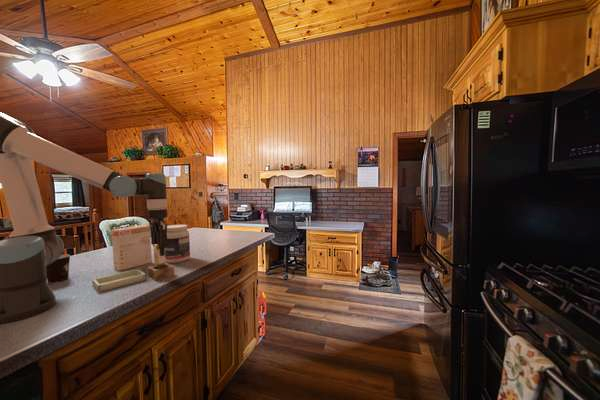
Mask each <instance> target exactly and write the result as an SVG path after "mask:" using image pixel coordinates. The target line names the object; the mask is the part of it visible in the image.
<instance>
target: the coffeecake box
mask: <svg viewBox="0 0 600 400" xmlns="http://www.w3.org/2000/svg"><path fill="white" fill-rule="evenodd" d="M110 231H111V244H112V245H111V247H112V258H113V259H112V260H113V269H114V270H117V271H123V270H127V269H131V268H135V267H138V266H143V265H148V264H151V263H153V256H152V244H151V229H150V225H146V224H142V225H135V226H134V225H133V226H127V227H120V228H113V229H111V230H110Z"/></svg>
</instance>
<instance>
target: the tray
mask: <svg viewBox="0 0 600 400" xmlns="http://www.w3.org/2000/svg"><path fill="white" fill-rule="evenodd" d="M143 281H147V274H146V273H145V272H143V271H142V270H140V269H139V268H135V269H131V270H126V271H123V272H117V273H114V274H108V275H105V276H100V277H95V278H92V279H91V284H92V287H93V288H94V289H95V290H96V291H97V292H98V293H102V292H104V291H109V290H113V289H117V288H119V287H121V288H122V287H123V286H124V287H125V286H128V285H130V284H131V285H132V284H135V283H139V282H143Z"/></svg>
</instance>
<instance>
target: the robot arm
mask: <svg viewBox="0 0 600 400" xmlns="http://www.w3.org/2000/svg"><path fill="white" fill-rule="evenodd" d="M33 161H34V162H36V163H39V164H41V165H42V166H46V167H49V168H51V169H54V170H56V171H58V172H60V173H63V174H66V175H68V176H70V177H73V178H75V179H78V180H80V181H82V182H86V183H87V184H89V185H92V186H94V187H98V188H100V189H102V190H104V191H107V192H109V193H111V195H112V196H114V197H119V198H129V197H138V196H139V197H141V196H142V197H143V196H145V197H146V208H147V218H148V219H150V220H151V219H152V220H151V222H149V226H150V241H151V245H152V247H153V248H154V244H158V248H157V249H158V264H160V263H167V262H166V260H165V247H167V226H168V224H167V223H166V224H165V219H166V218H168V209H167V207H168V203H169V202H168V199H167V198H168V197H167V178H166V175H165V174H164V173H159V172H149V173H146V174H145V177H130V176H127V175H125V174H122V173H120V172H118V171H116V170H113V169H111V168H109V167H107V166H105V165H102V164H100V163H98V162H96V161H93V160H91V159H89V158H87V157H84V156H82V155H80V154H78V153H76V152H74V151H72V150H69V149H67V148H65V147H62V146H60V145H58V144H56V143H53V142H51V141H49V140H46V139H44V138H43V137H41V136H38V135H36V133H35V131H34V130H33V129H32V128H31V127H30V126H29V125H27V124H26V123H25V122H23V121H21V120H19V119H16V118H13V117H11V116H9V115H7V114H5V113H4V112H3V113H2V112H0V183H1V188H2V192H3V196H4V200H5V201H6V203H5V204H6V206H7V210H8V213H9V216H10V217H9V218H10V220H11V224H12V228H13V231H12V232H11V233H10V234H9V235H8V239H6V238H5V239H2V240H0V324H5V323H12V322H16V321H19V320H23V319H27V318H30V317H33V316H36V315H40V314H41V313H44V312H46V311H48V310H50V309H51V308H53V307H54V306H55V305H56V304H57V300H56V295H55V294H54V292H53V290H52V288H51V287H50V285H49V283H48V281H47V277H46V266H48V265H49V264H52V263H53V262H55V261H56V260H57V259H58V258H59V257H60V255H63V252H64V250H65V244H64V241H63V240H62V239H61V237H59V236H58V235H57V232H56V228H55V227H54V226H52V225H50V224H49V223H48V219H47V215H46V211H45V207H44V204H43V201H42V200H43V199H42V197H41V196H42V195H41V192H40V188H39V184H38V181H37V180H38V179H37V176H36V172H35V169H34V164H33ZM153 261H154V263H155V260H154V259H153Z"/></svg>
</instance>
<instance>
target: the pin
mask: <svg viewBox="0 0 600 400" xmlns="http://www.w3.org/2000/svg"><path fill="white" fill-rule="evenodd" d="M157 248H158V244H154V247H153V261H154V260H155V262H154V266H155V269H161V268H165V263H166V262H165V263H160V264H158V249H157Z"/></svg>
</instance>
